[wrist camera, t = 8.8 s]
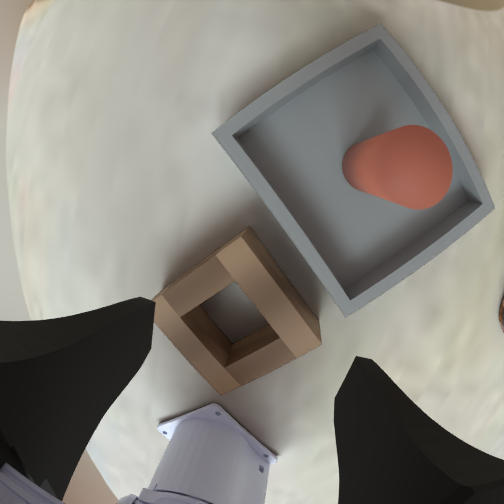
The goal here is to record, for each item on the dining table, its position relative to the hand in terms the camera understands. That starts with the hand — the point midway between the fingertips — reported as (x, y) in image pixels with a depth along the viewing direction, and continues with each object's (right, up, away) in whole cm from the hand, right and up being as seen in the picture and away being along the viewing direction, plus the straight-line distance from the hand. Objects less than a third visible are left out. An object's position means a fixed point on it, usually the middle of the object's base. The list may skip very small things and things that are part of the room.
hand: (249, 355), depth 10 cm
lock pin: (+7, +8, +7) cm, 13 cm away
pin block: (-1, 0, +11) cm, 11 cm away
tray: (+7, +9, +7) cm, 13 cm away
